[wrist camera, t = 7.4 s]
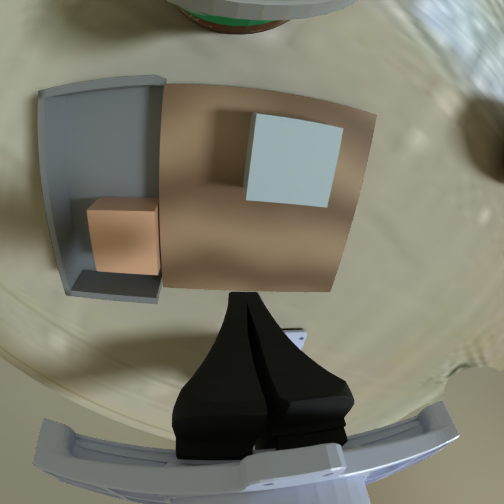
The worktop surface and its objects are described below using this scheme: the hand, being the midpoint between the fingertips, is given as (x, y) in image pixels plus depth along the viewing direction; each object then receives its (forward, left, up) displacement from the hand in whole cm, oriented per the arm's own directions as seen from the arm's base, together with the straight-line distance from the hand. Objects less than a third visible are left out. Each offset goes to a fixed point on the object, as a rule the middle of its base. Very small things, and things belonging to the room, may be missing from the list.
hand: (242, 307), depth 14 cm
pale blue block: (+6, -3, -7) cm, 10 cm away
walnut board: (+3, -2, -9) cm, 10 cm away
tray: (+3, +10, -9) cm, 14 cm away
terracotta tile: (-1, +8, -9) cm, 12 cm away
